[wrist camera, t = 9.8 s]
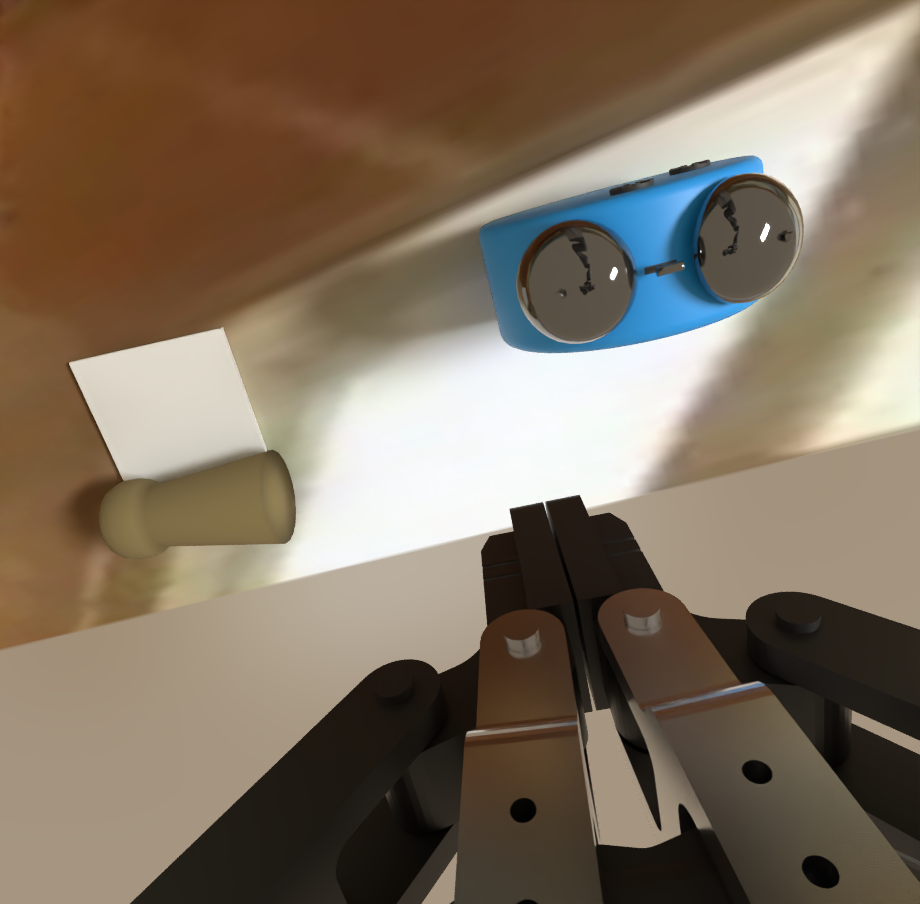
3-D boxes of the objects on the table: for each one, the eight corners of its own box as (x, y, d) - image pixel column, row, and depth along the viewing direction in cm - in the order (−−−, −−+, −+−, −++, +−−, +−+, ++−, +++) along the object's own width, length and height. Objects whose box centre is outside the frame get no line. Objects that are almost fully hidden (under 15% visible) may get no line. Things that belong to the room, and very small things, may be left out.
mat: (72, 361, 39) (68, 362, 38) (222, 327, 38) (220, 328, 38) (147, 525, 43) (145, 527, 43) (284, 497, 42) (282, 499, 42)
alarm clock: (495, 322, 38) (519, 389, 24) (471, 219, 36) (483, 228, 22) (705, 268, 37) (857, 306, 23) (694, 158, 35) (856, 128, 21)
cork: (282, 440, 41) (126, 466, 42) (251, 462, 36) (70, 492, 36) (302, 524, 43) (150, 548, 43) (275, 558, 37) (100, 585, 37)
